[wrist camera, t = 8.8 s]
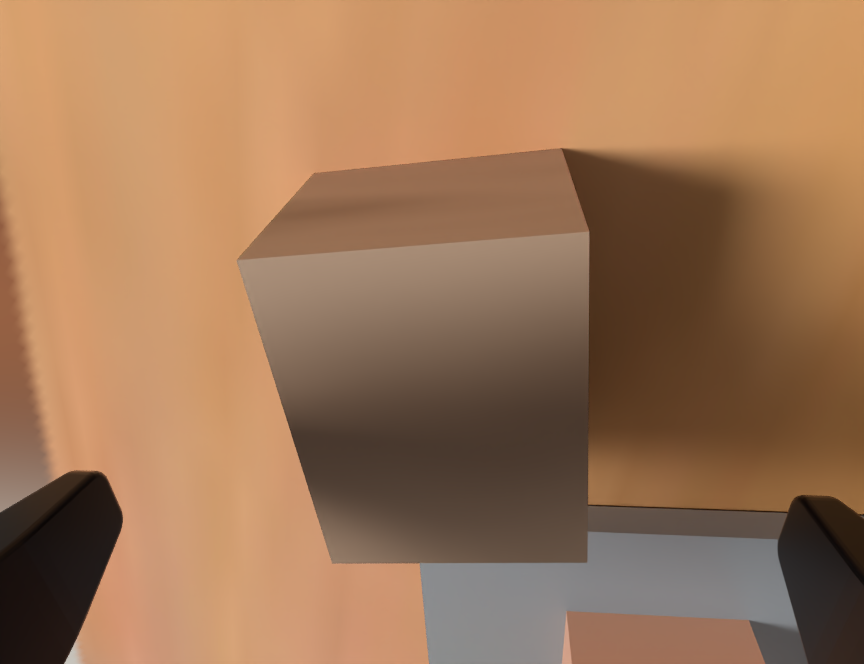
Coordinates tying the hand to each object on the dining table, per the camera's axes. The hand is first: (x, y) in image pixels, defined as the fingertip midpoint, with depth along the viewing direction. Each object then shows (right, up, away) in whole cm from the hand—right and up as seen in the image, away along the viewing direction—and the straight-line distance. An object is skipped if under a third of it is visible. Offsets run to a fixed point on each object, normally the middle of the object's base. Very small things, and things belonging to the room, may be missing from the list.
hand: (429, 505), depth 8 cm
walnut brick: (+1, +3, +4) cm, 5 cm away
